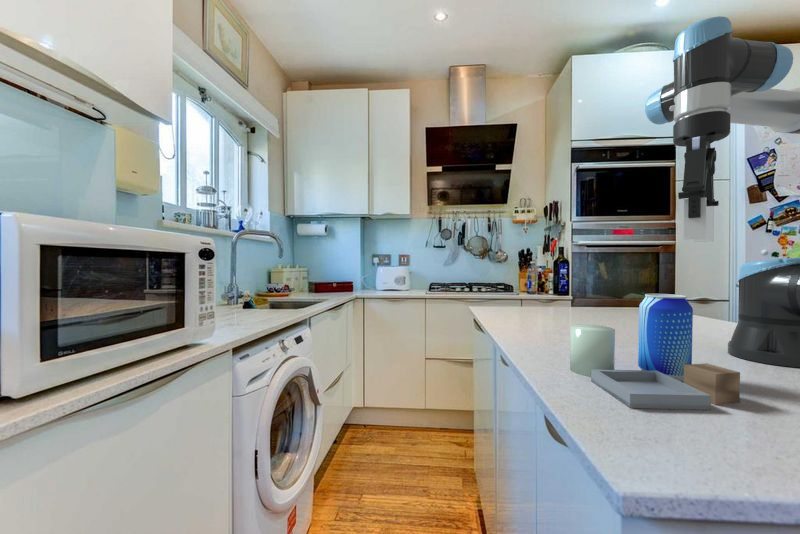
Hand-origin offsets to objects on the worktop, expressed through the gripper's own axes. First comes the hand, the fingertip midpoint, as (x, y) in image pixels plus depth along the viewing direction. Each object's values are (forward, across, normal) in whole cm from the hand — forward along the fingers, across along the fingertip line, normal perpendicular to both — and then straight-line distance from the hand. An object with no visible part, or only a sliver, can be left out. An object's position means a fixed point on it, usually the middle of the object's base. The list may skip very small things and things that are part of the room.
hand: (699, 240), depth 61 cm
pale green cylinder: (+26, +2, -16) cm, 31 cm away
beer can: (+26, -5, -6) cm, 28 cm away
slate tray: (+26, +9, -6) cm, 28 cm away
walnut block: (+26, +3, +2) cm, 27 cm away
